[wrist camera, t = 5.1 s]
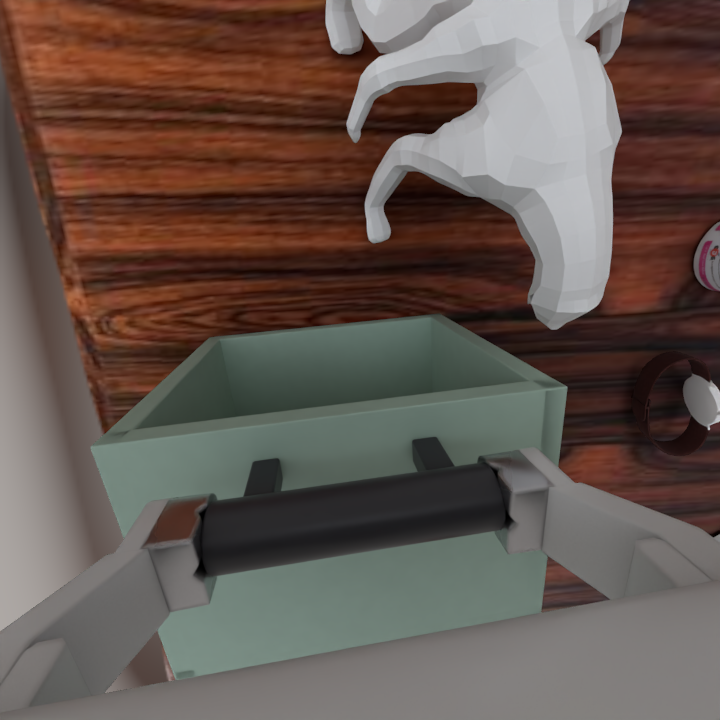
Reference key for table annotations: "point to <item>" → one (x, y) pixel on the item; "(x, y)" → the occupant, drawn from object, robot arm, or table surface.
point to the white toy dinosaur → (505, 122)
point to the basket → (338, 485)
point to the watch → (697, 396)
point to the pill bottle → (709, 259)
